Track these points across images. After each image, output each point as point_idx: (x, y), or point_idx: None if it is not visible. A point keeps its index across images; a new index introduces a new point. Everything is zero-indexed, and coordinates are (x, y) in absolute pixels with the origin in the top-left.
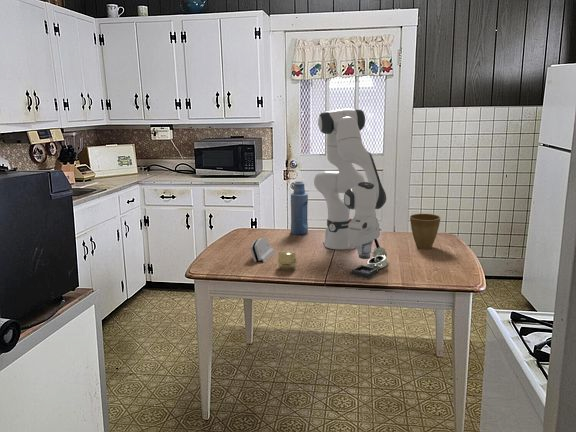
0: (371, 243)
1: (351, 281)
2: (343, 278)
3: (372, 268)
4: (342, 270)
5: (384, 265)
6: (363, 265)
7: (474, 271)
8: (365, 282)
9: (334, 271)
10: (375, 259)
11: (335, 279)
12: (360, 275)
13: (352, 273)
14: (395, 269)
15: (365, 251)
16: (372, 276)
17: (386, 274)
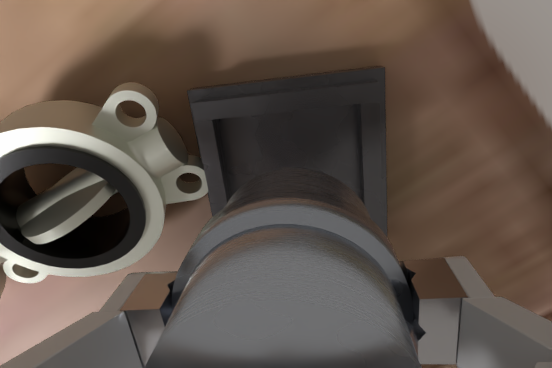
0: (61, 356)
1: (516, 139)
2: (488, 224)
3: (217, 142)
4: None
5: (71, 104)
6: None
7: None
8: (469, 30)
9: None
10: (87, 207)
11: (543, 254)
12: (385, 147)
13: (386, 222)
14: (3, 32)
15: (384, 246)
16: (300, 75)
17: (162, 13)
